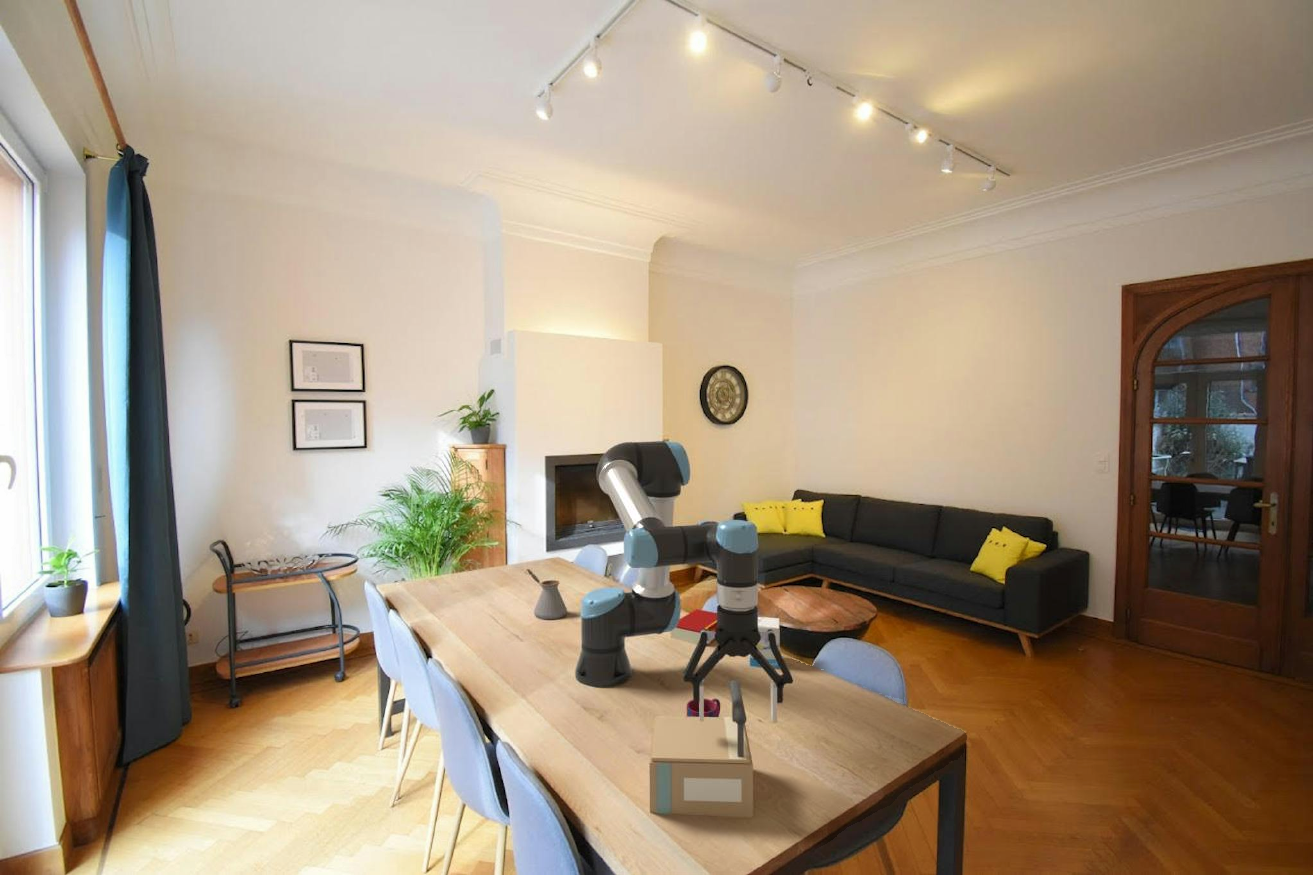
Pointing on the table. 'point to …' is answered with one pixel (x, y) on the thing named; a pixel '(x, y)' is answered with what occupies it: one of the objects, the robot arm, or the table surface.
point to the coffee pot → (549, 600)
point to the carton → (702, 787)
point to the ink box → (765, 649)
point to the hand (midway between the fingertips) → (737, 718)
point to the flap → (703, 736)
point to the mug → (709, 708)
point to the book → (694, 626)
